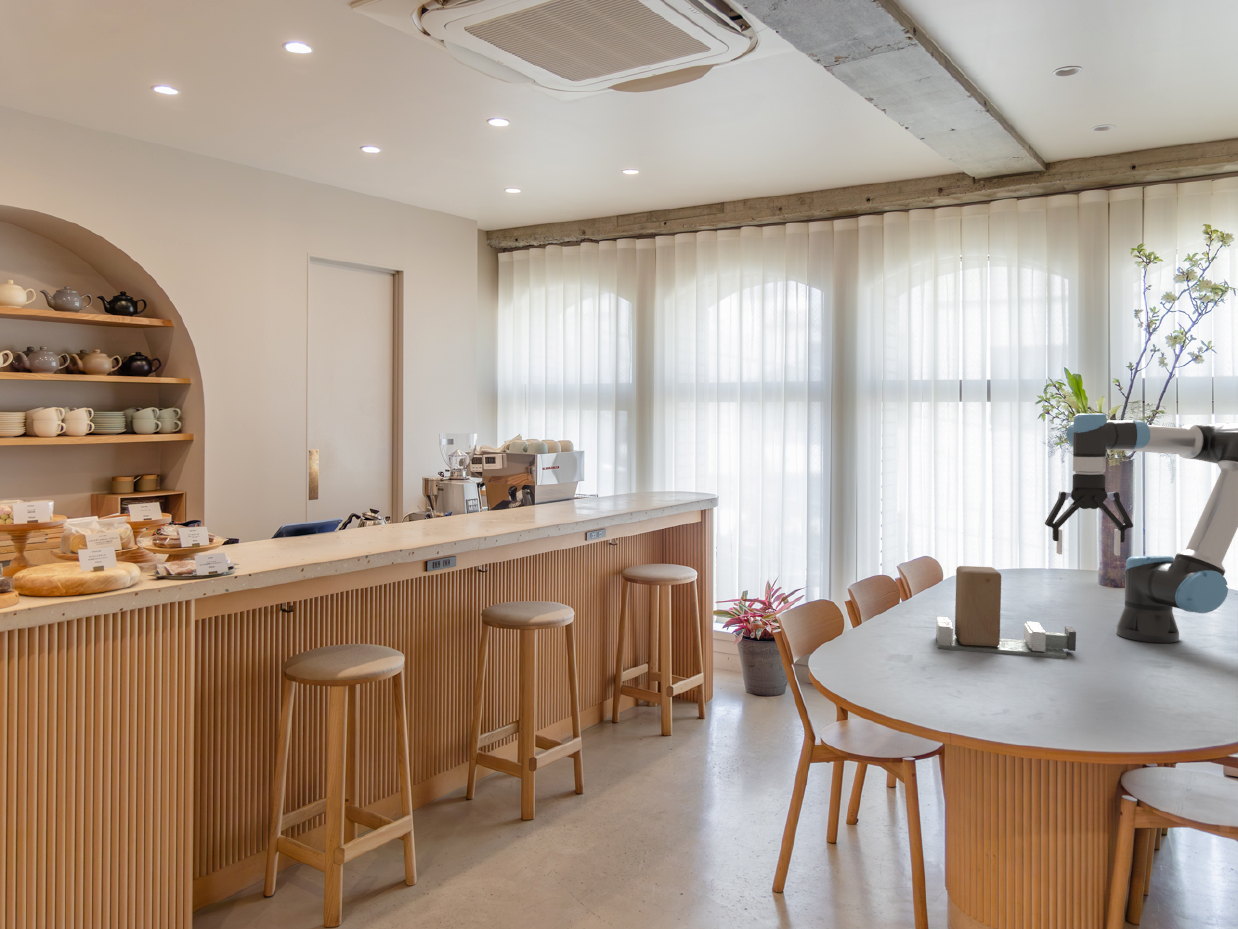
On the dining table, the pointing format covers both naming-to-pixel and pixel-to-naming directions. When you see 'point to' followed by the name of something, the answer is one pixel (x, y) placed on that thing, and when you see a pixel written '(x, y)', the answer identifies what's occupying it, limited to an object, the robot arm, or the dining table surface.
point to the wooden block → (978, 606)
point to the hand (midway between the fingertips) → (1087, 554)
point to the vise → (1005, 647)
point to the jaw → (1048, 638)
